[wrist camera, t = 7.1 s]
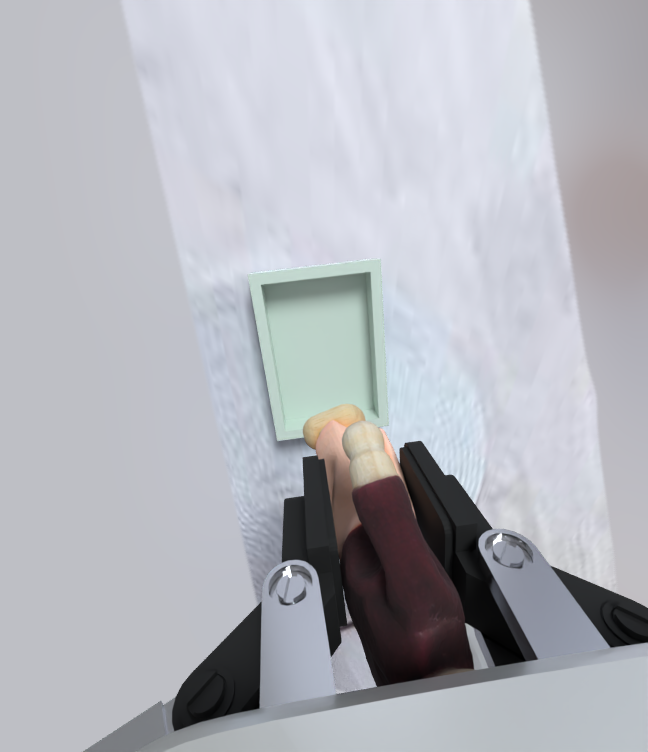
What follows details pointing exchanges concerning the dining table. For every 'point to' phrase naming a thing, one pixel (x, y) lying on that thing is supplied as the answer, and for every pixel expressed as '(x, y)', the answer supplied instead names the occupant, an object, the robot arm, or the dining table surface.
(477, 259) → the dining table surface
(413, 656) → the grandmother figurine
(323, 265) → the tray
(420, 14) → the dining table surface
